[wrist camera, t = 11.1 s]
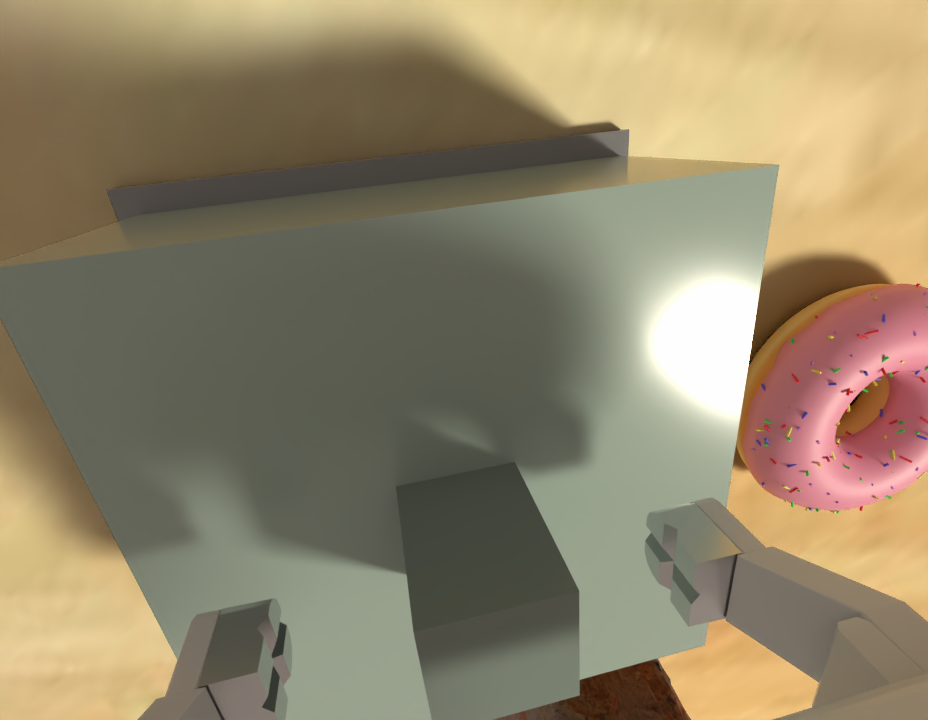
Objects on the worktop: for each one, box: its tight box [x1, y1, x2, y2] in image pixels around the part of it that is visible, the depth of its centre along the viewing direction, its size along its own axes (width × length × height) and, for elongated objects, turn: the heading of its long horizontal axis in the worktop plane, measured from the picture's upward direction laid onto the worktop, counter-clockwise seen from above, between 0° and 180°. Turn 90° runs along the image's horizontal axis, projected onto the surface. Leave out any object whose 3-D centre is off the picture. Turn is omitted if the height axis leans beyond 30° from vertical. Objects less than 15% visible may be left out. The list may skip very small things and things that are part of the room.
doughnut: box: [736, 283, 928, 513], centre depth 22 cm, size 11×11×4 cm
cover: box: [0, 156, 779, 720], centre depth 14 cm, size 16×16×11 cm
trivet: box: [107, 129, 629, 222], centre depth 19 cm, size 16×16×1 cm
